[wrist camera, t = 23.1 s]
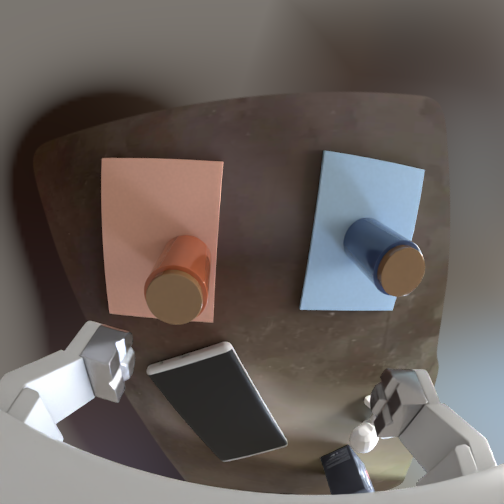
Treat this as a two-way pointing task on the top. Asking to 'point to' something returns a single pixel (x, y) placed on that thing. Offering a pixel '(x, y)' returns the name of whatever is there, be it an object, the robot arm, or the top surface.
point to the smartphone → (219, 402)
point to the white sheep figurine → (365, 433)
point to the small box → (346, 472)
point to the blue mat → (344, 215)
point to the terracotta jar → (179, 281)
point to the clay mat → (154, 222)
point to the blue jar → (384, 256)
